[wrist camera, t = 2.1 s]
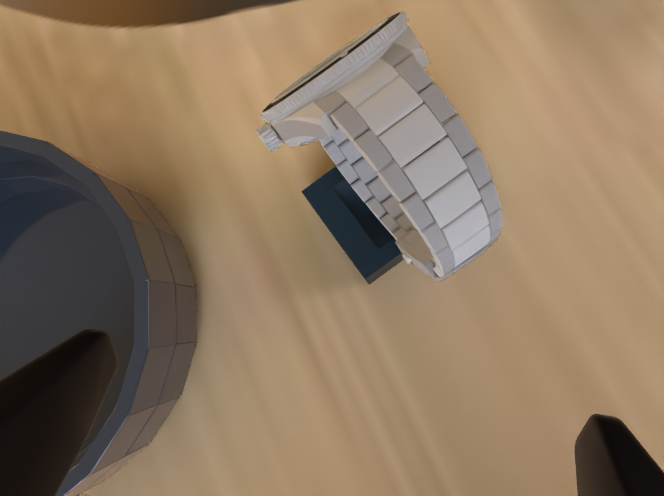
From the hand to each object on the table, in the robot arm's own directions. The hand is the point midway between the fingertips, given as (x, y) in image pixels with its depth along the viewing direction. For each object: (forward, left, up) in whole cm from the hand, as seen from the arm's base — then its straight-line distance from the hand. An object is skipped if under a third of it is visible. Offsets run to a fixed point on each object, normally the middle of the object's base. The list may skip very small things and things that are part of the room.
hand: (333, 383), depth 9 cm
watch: (+6, +1, -13) cm, 14 cm away
